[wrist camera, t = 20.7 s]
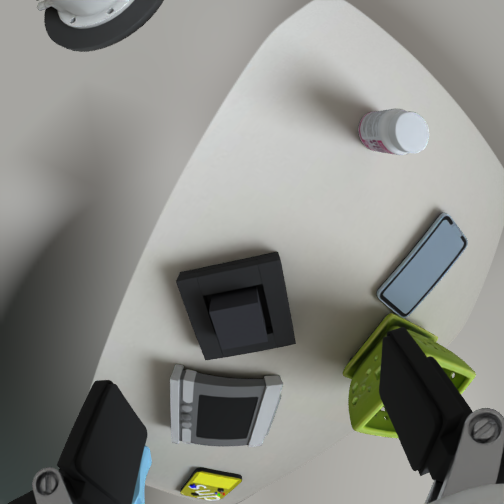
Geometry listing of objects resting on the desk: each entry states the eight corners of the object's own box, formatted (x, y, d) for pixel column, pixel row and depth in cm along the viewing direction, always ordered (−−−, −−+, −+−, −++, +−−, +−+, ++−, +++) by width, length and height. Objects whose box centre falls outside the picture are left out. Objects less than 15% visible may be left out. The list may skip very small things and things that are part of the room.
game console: (196, 466, 53) (195, 471, 51) (244, 474, 54) (244, 480, 53) (179, 490, 58) (178, 495, 57) (219, 498, 60) (219, 502, 59)
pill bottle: (354, 147, 32) (387, 151, 24) (359, 107, 30) (393, 100, 22) (390, 155, 32) (429, 162, 24) (395, 117, 30) (434, 115, 22)
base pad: (207, 348, 40) (205, 360, 38) (179, 272, 36) (175, 281, 34) (292, 332, 40) (295, 344, 38) (277, 251, 36) (280, 259, 33)
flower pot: (439, 326, 41) (479, 375, 30) (388, 387, 46) (414, 440, 34) (383, 297, 39) (427, 353, 27) (327, 369, 43) (349, 433, 31)
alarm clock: (169, 379, 38) (287, 398, 38) (177, 358, 42) (285, 376, 43) (171, 442, 44) (263, 457, 44) (177, 423, 48) (264, 437, 49)
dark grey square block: (223, 330, 38) (221, 350, 35) (211, 294, 36) (208, 311, 33) (265, 322, 38) (267, 341, 34) (256, 285, 36) (258, 302, 32)
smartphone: (375, 296, 38) (446, 210, 33) (372, 292, 39) (442, 208, 34) (404, 320, 39) (469, 243, 35) (402, 317, 40) (466, 240, 36)
